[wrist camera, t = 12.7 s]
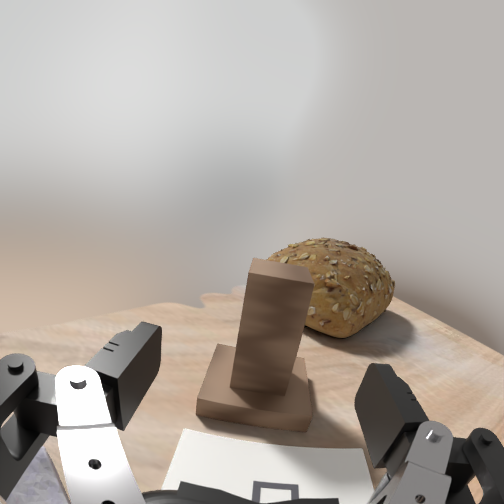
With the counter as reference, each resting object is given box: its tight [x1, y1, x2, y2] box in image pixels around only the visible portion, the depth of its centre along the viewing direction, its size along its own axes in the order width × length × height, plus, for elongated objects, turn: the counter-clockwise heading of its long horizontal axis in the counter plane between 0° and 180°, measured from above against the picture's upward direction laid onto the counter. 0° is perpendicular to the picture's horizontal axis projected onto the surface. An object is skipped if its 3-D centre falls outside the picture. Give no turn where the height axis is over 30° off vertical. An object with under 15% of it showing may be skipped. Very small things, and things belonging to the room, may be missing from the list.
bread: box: [267, 238, 395, 338], centre depth 48 cm, size 24×21×12 cm
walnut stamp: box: [196, 258, 314, 432], centre depth 24 cm, size 9×9×12 cm
